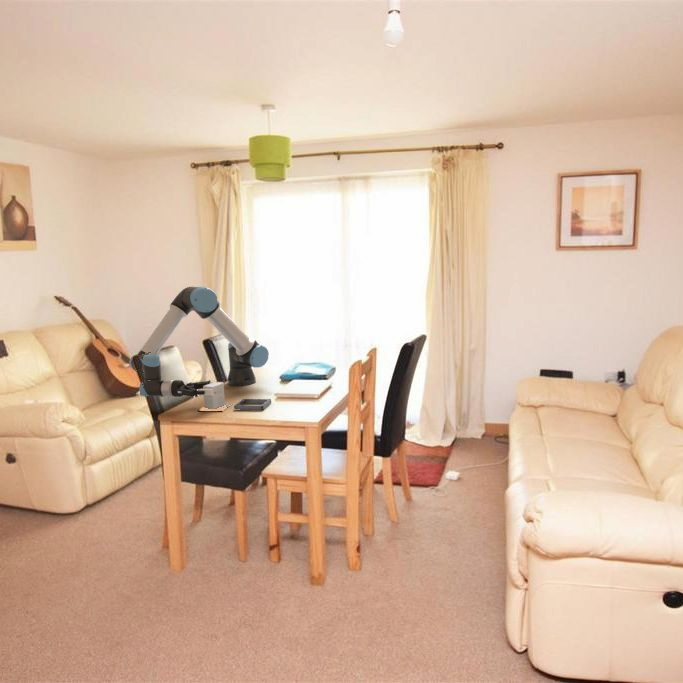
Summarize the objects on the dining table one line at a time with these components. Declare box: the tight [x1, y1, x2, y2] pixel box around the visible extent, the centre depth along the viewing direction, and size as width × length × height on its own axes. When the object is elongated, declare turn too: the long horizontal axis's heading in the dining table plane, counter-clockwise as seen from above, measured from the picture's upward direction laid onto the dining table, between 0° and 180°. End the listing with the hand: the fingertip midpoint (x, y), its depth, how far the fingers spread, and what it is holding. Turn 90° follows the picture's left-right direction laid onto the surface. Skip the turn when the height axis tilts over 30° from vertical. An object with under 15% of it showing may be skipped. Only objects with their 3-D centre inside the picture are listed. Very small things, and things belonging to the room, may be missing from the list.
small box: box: [203, 381, 226, 409], centre depth 259 cm, size 8×6×10 cm
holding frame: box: [233, 398, 272, 411], centre depth 260 cm, size 12×13×2 cm
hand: (218, 388), depth 259 cm, fingers open, 13 cm apart
